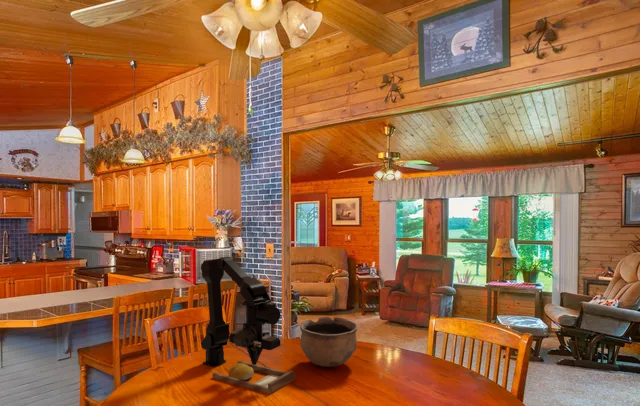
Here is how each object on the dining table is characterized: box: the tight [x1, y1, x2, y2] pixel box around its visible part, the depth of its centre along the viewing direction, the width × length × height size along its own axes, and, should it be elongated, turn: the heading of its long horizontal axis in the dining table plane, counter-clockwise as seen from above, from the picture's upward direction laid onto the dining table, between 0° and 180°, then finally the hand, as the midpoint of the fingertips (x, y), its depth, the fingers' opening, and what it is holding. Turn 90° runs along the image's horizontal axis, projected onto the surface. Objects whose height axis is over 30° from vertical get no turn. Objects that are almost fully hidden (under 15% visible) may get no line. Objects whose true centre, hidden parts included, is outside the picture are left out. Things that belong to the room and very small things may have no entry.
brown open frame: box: [211, 360, 296, 395], centre depth 146 cm, size 25×14×3 cm, turn 59°
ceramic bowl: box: [299, 316, 359, 368], centre depth 160 cm, size 22×22×15 cm
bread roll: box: [227, 363, 255, 381], centre depth 147 cm, size 8×9×4 cm
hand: (254, 364), depth 146 cm, fingers closed
